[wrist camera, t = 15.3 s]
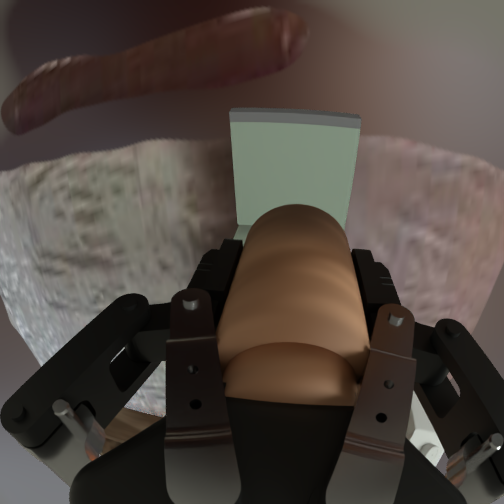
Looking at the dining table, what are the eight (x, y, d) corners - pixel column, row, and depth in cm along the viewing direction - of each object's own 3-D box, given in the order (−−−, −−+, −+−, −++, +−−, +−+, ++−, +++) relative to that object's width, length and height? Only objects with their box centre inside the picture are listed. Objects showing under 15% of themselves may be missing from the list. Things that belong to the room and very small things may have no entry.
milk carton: (393, 374, 41) (411, 488, 25) (359, 361, 40) (370, 486, 24) (426, 346, 38) (458, 465, 21) (392, 330, 37) (421, 462, 21)
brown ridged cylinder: (356, 208, 12) (408, 372, 5) (339, 297, 15) (352, 458, 8) (244, 200, 13) (180, 355, 6) (244, 289, 15) (204, 446, 8)
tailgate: (343, 231, 27) (361, 119, 20) (237, 224, 29) (229, 112, 21) (342, 224, 28) (358, 114, 21) (239, 217, 29) (232, 107, 22)
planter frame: (212, 468, 70) (206, 493, 63) (121, 446, 73) (112, 467, 66) (198, 424, 56) (188, 457, 49) (84, 395, 59) (70, 421, 52)
